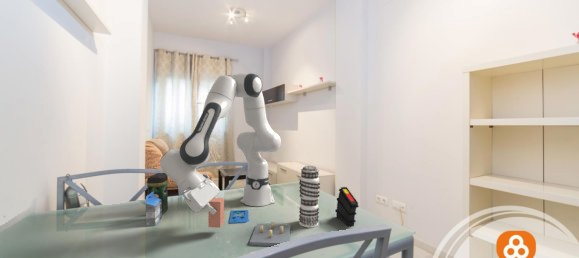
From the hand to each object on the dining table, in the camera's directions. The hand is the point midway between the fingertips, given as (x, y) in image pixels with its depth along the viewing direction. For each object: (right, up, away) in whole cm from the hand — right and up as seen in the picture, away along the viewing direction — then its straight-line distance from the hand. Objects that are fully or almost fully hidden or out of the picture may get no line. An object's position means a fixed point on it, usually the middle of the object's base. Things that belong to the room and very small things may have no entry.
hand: (218, 210), depth 95 cm
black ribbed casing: (+54, -10, +14) cm, 56 cm away
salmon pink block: (-1, -6, 0) cm, 6 cm away
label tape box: (-31, -9, +10) cm, 33 cm away
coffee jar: (-35, -8, +21) cm, 42 cm away
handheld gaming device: (+5, -10, +18) cm, 21 cm away
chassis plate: (+21, -10, -1) cm, 23 cm away
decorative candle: (+36, -10, +12) cm, 40 cm away
